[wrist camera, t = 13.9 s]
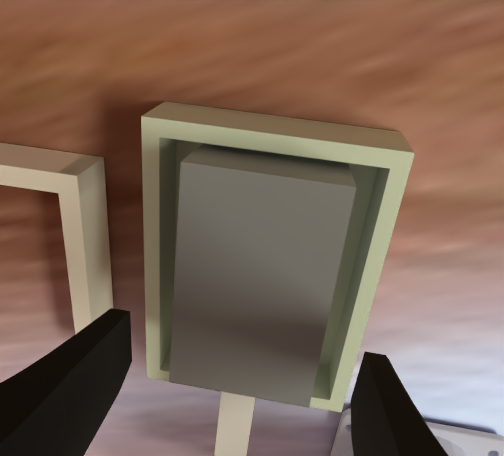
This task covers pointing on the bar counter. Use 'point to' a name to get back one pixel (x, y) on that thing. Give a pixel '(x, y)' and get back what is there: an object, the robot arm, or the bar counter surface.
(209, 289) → the block on a stick
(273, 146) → the tray
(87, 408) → the robot arm
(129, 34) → the bar counter surface
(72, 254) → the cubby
